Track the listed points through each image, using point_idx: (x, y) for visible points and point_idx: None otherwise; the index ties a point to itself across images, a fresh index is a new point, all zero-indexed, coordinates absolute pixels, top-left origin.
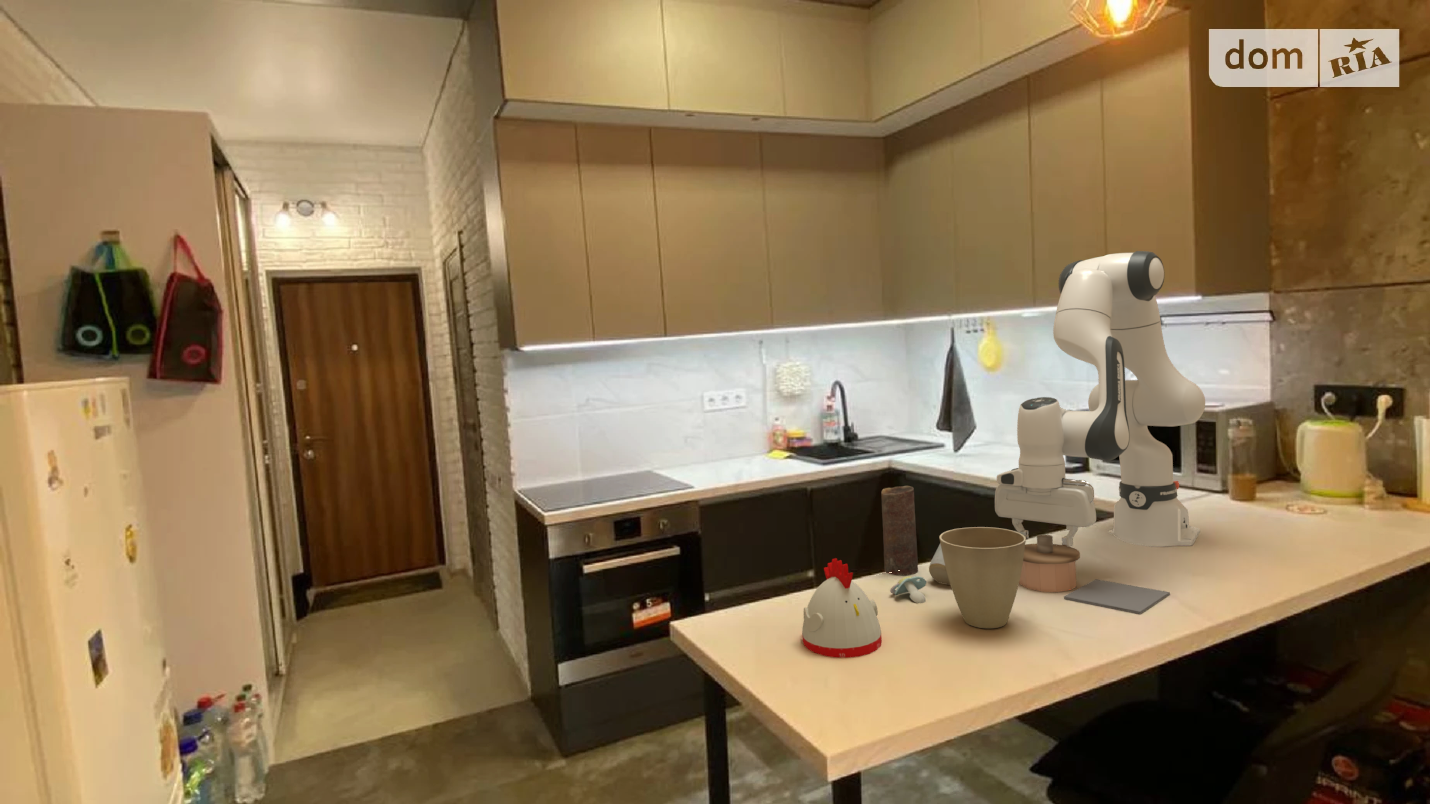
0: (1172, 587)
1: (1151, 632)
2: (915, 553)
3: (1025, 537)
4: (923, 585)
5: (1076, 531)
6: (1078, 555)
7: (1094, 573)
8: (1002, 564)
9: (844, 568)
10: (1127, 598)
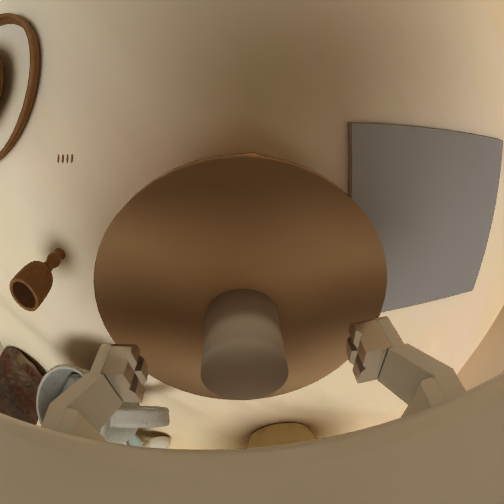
0: (489, 78)
1: (474, 332)
2: (27, 404)
3: (143, 373)
4: (136, 437)
5: (437, 362)
6: (386, 278)
7: (296, 36)
8: None
9: None
10: (455, 239)
